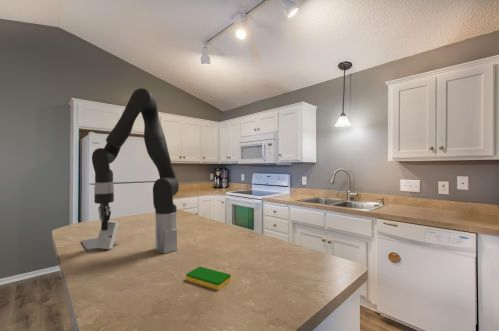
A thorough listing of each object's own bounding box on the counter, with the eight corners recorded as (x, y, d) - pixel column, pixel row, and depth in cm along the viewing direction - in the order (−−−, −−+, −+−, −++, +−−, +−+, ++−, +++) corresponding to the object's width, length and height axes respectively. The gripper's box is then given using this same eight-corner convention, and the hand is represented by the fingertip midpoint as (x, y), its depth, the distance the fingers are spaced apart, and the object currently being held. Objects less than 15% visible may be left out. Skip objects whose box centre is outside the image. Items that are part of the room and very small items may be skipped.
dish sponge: (199, 272, 85) (199, 266, 85) (231, 281, 78) (231, 274, 78) (185, 281, 79) (185, 274, 79) (218, 291, 72) (218, 283, 72)
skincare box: (94, 248, 105) (101, 220, 108) (99, 246, 110) (105, 220, 112) (109, 249, 106) (115, 222, 109) (113, 248, 111) (119, 221, 113)
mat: (117, 245, 114) (117, 244, 114) (87, 251, 106) (87, 250, 106) (107, 236, 128) (107, 235, 128) (81, 241, 119) (81, 240, 119)
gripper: (117, 192, 104) (117, 231, 104) (109, 190, 114) (110, 225, 114) (97, 194, 99) (97, 234, 99) (91, 191, 109) (91, 228, 109)
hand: (104, 229), depth 106 cm, fingers closed
